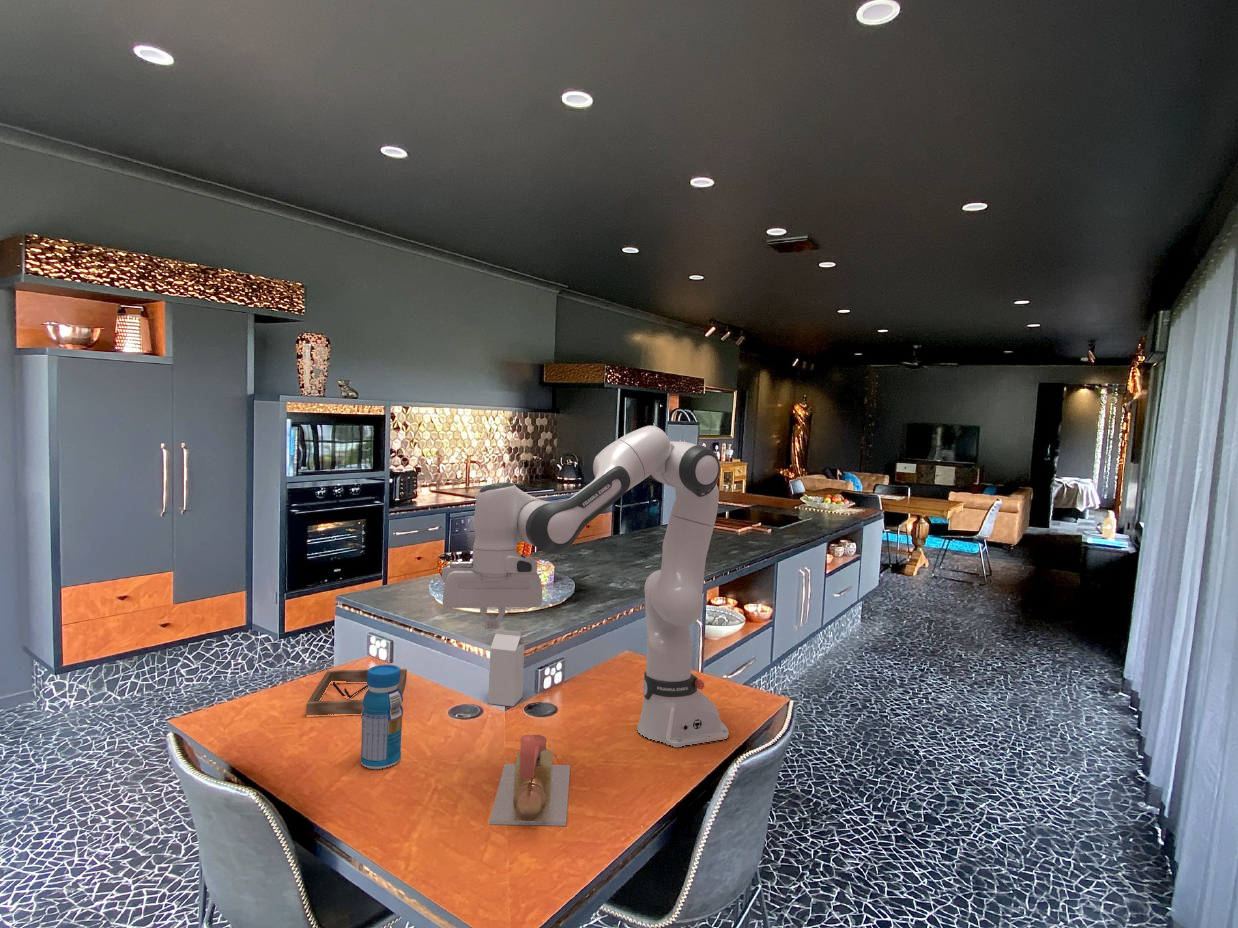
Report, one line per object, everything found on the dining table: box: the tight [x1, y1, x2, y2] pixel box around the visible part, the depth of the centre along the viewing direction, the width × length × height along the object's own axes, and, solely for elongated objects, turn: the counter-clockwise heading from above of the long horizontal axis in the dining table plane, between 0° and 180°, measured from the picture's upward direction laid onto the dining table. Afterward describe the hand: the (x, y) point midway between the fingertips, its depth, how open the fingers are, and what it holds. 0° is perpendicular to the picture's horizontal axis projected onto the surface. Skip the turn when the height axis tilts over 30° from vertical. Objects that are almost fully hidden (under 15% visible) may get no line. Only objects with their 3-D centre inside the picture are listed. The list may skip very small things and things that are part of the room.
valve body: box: [488, 747, 571, 827], centre depth 134 cm, size 22×14×9 cm, turn 2°
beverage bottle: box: [360, 664, 404, 770], centre depth 145 cm, size 8×8×20 cm
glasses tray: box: [305, 668, 408, 716], centre depth 180 cm, size 21×24×4 cm
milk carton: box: [487, 629, 525, 707], centre depth 182 cm, size 7×7×19 cm
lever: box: [519, 734, 547, 780], centre depth 128 cm, size 16×4×7 cm, turn 0°
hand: (491, 628), depth 139 cm, fingers closed
